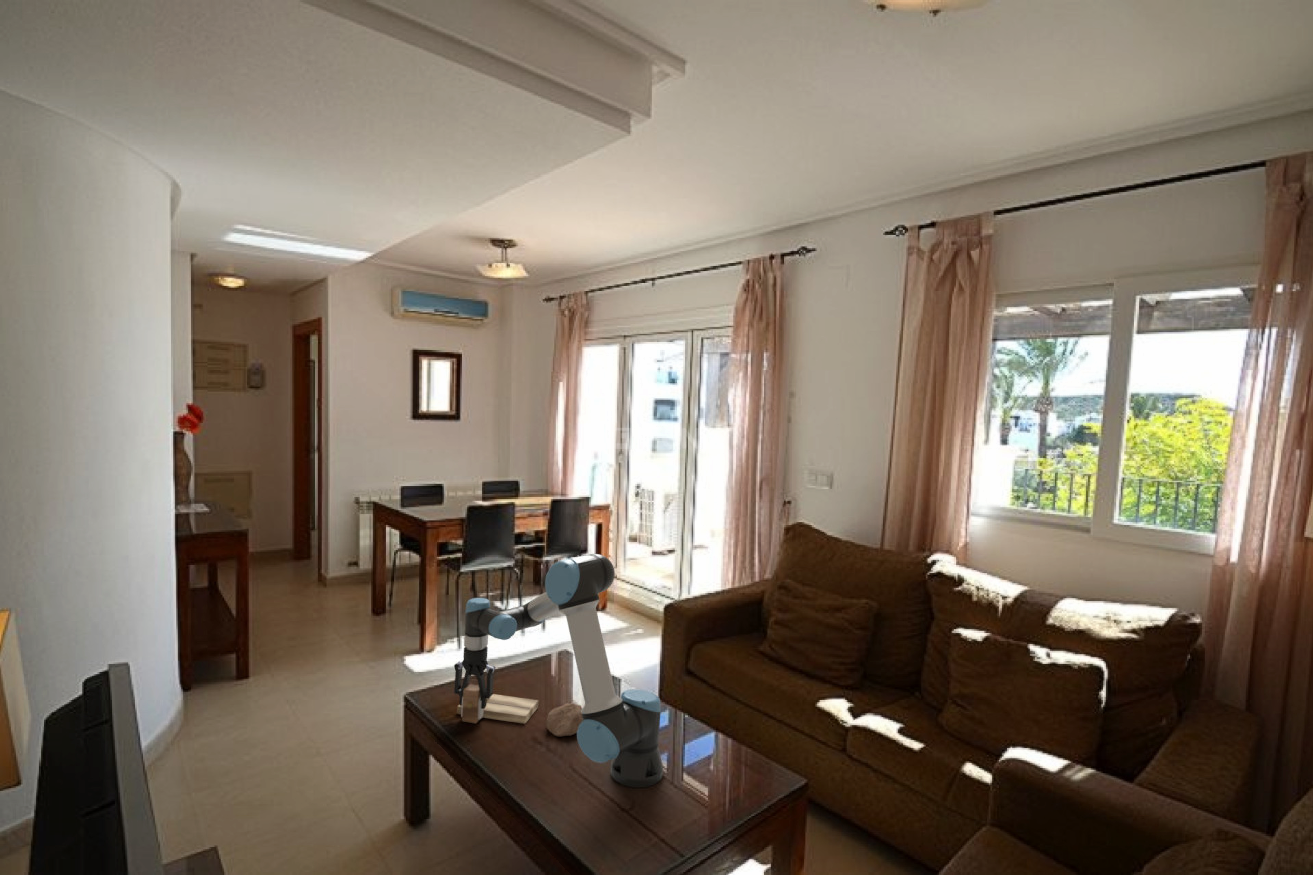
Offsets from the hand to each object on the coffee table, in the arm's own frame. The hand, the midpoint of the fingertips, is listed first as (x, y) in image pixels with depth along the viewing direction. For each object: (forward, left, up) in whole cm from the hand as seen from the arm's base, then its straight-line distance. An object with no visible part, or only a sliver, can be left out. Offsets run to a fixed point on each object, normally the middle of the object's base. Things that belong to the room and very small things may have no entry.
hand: (472, 716), depth 207 cm
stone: (+2, -31, -2) cm, 31 cm away
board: (+9, -5, -1) cm, 10 cm away
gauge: (+5, 0, -1) cm, 5 cm away
